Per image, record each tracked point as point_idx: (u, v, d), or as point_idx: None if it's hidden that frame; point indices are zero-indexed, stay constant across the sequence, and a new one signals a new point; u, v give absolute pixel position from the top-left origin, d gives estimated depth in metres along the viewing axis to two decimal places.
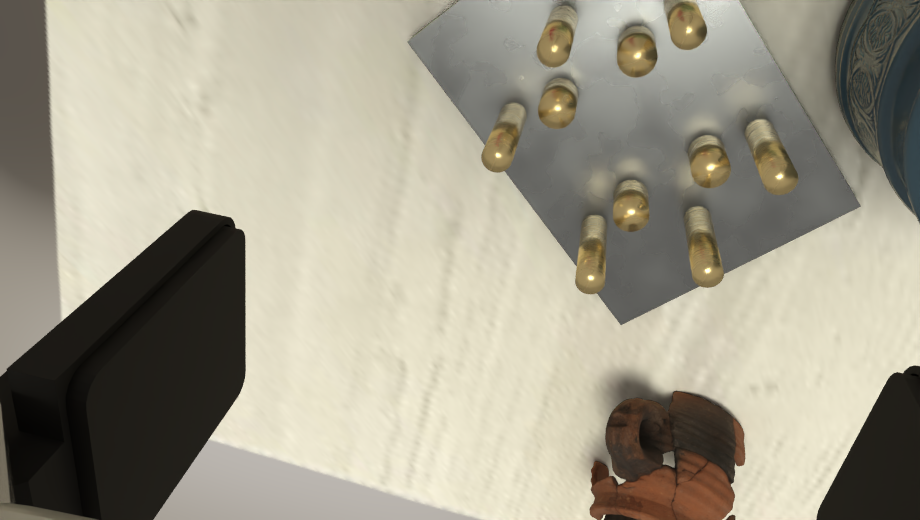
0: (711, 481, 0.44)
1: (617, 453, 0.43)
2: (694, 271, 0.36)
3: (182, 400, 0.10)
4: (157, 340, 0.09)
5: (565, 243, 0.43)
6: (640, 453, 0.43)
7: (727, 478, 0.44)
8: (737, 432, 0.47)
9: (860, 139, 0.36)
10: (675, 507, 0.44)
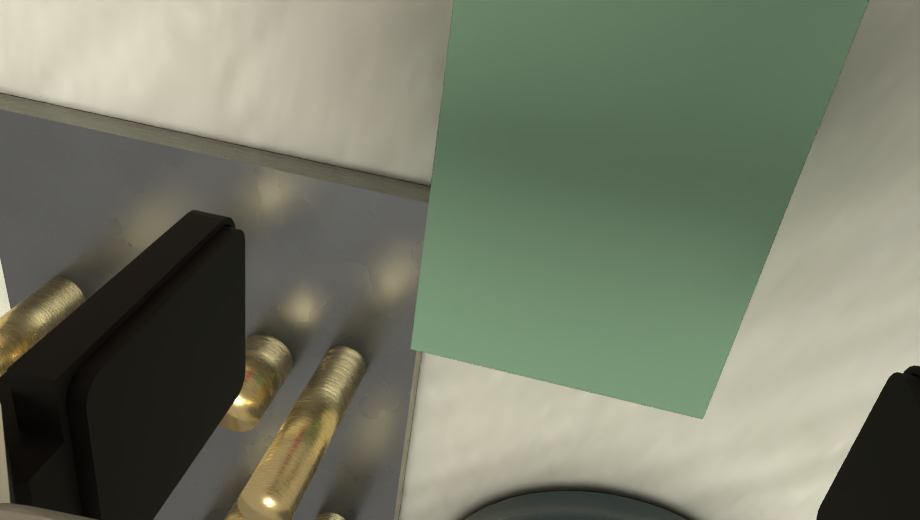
0: None
1: None
2: None
3: (182, 400, 0.10)
4: (157, 340, 0.09)
5: None
6: None
7: None
8: None
9: None
10: None
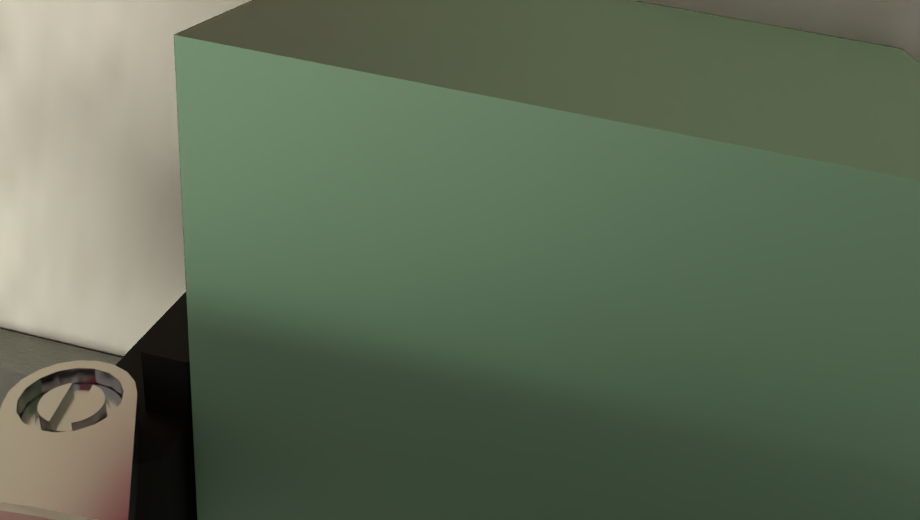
0: None
1: None
2: None
3: None
4: None
5: None
6: None
7: None
8: None
9: None
10: None
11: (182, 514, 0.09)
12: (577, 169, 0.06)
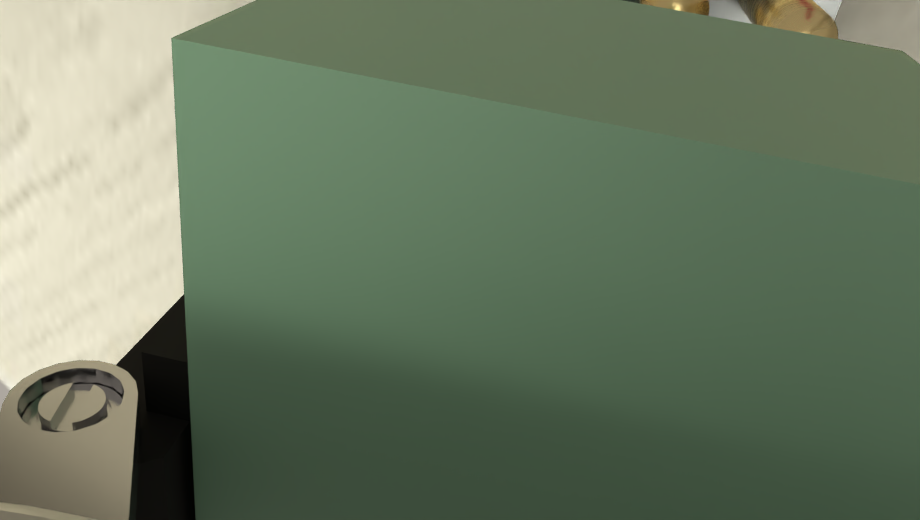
0: None
1: None
2: None
3: None
4: None
5: None
6: None
7: None
8: None
9: None
10: None
11: (182, 514, 0.09)
12: (578, 175, 0.06)
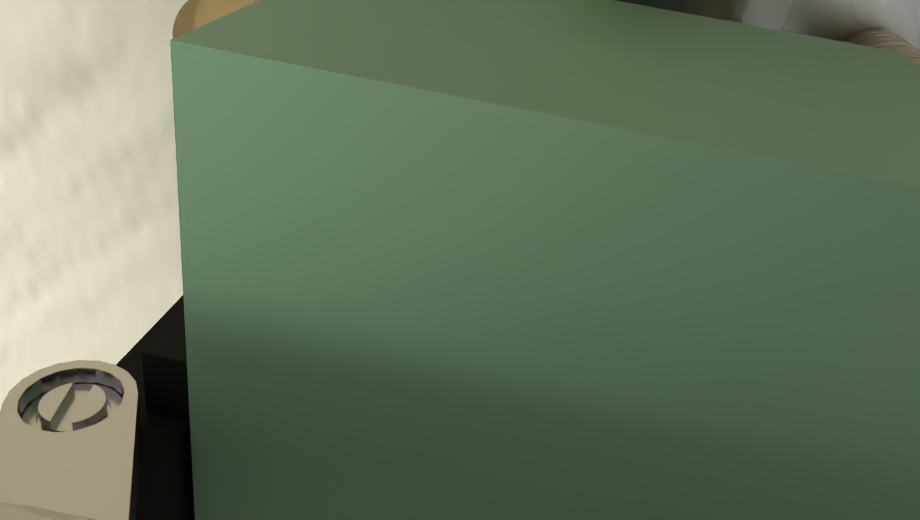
0: None
1: None
2: None
3: None
4: None
5: None
6: None
7: None
8: None
9: None
10: None
11: (181, 515, 0.09)
12: (575, 175, 0.06)
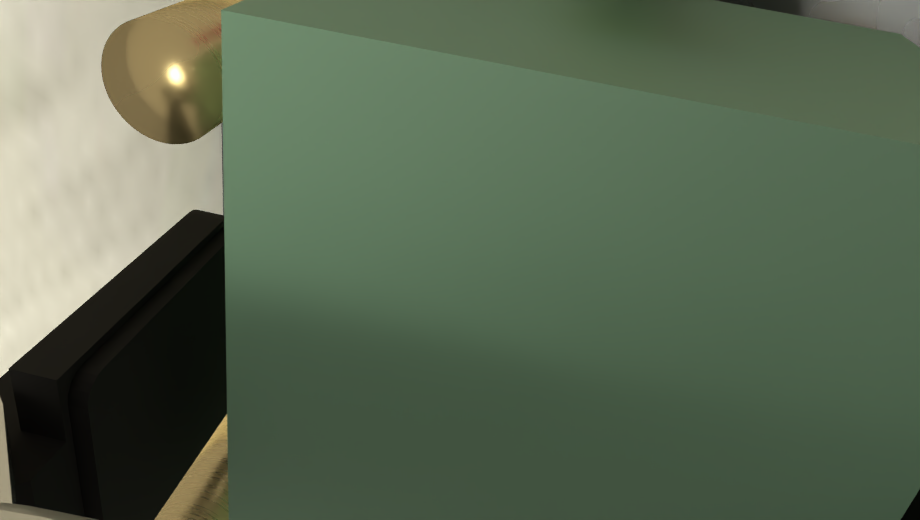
0: None
1: None
2: None
3: (183, 400, 0.10)
4: (159, 340, 0.09)
5: None
6: None
7: None
8: None
9: None
10: None
11: None
12: (599, 137, 0.06)
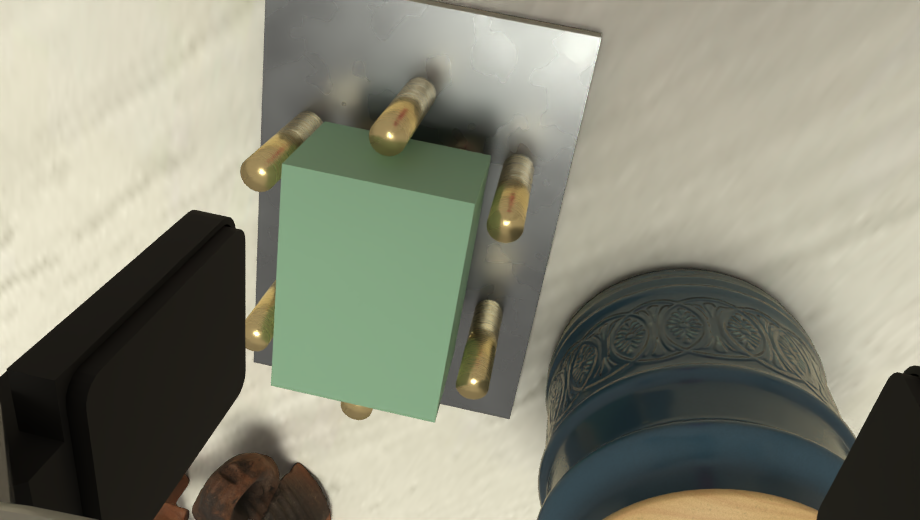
0: None
1: (207, 502, 0.40)
2: None
3: (182, 400, 0.10)
4: (157, 340, 0.09)
5: (262, 264, 0.38)
6: (229, 514, 0.40)
7: None
8: None
9: (550, 383, 0.37)
10: None
11: None
12: (369, 193, 0.27)
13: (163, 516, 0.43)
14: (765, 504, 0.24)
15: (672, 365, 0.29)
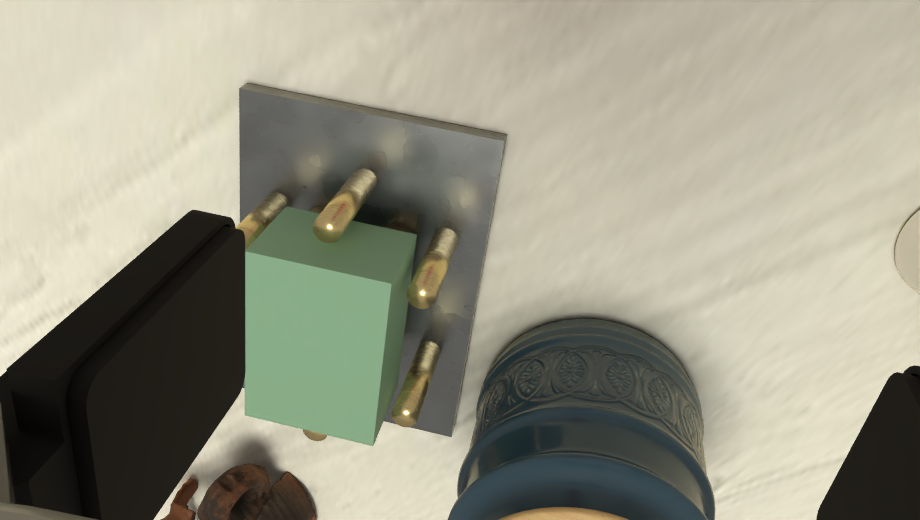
0: None
1: (209, 506, 0.49)
2: None
3: (182, 400, 0.10)
4: (157, 340, 0.09)
5: None
6: (226, 516, 0.49)
7: None
8: None
9: (478, 410, 0.45)
10: None
11: None
12: (312, 274, 0.35)
13: (174, 516, 0.52)
14: (598, 519, 0.32)
15: (553, 405, 0.37)
